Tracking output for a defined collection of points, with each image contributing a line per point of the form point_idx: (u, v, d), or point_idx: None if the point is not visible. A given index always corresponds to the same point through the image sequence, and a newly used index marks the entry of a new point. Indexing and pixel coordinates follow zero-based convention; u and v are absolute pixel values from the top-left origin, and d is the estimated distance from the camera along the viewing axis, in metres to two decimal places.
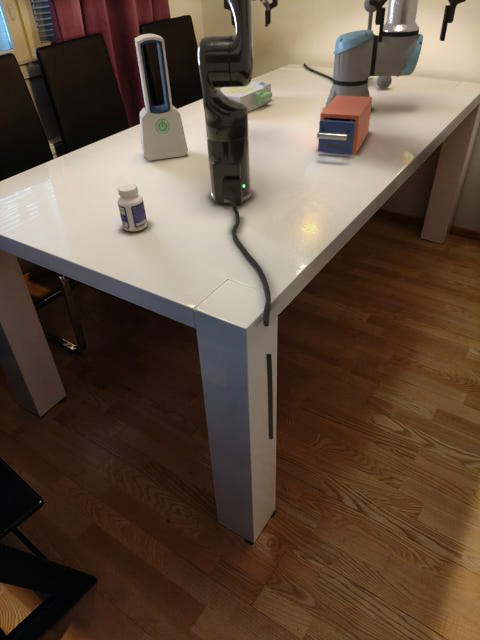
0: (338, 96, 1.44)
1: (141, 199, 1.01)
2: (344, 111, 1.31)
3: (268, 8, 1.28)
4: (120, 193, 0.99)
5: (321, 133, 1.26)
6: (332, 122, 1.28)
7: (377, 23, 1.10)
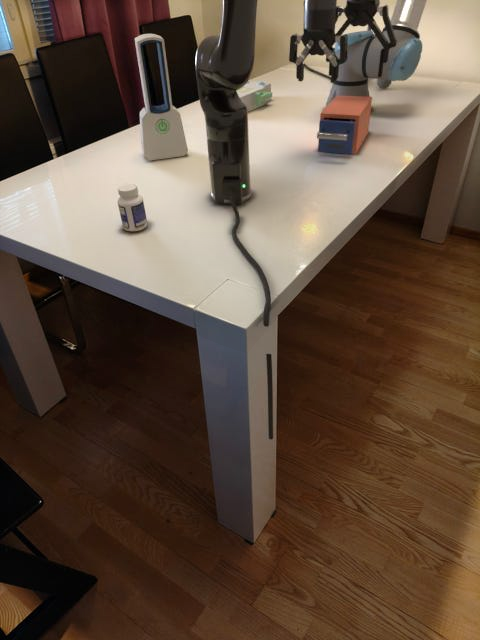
0: (338, 96, 1.44)
1: (141, 199, 1.01)
2: (344, 111, 1.31)
3: None
4: (120, 193, 0.99)
5: (321, 133, 1.26)
6: (332, 122, 1.28)
7: None
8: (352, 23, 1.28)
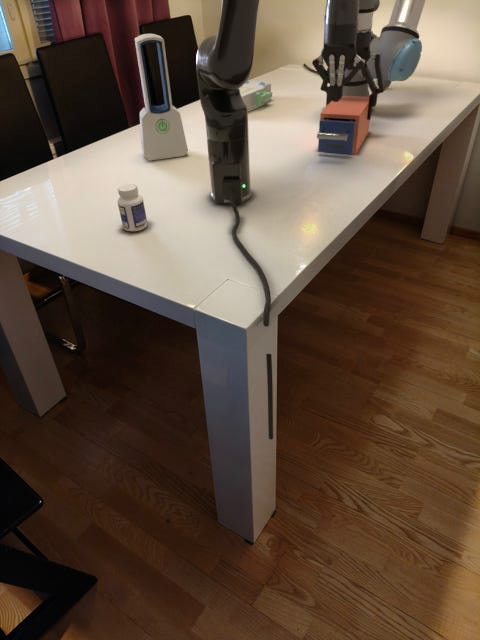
0: None
1: (141, 199, 1.01)
2: (344, 111, 1.31)
3: None
4: (120, 193, 0.99)
5: (321, 133, 1.26)
6: (332, 122, 1.28)
7: None
8: None
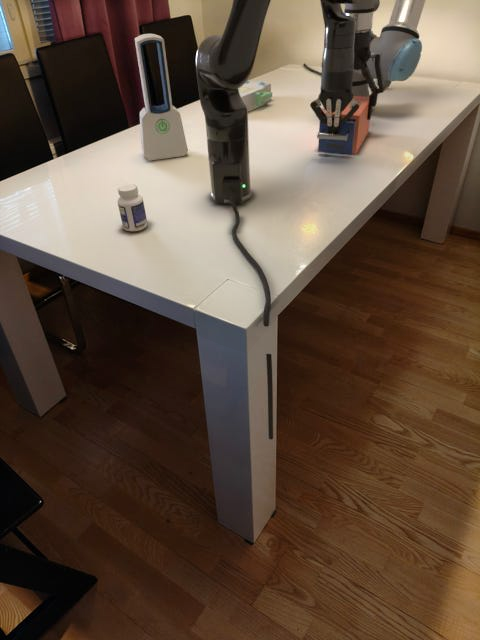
0: None
1: (141, 199, 1.01)
2: (344, 111, 1.31)
3: None
4: (120, 193, 0.99)
5: (321, 133, 1.26)
6: None
7: None
8: None
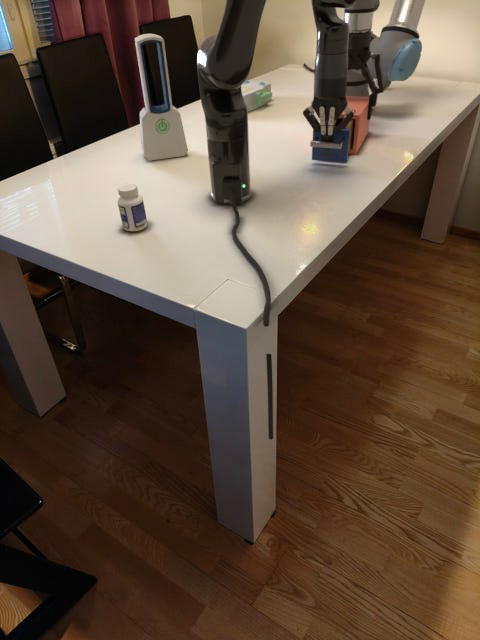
0: None
1: (141, 199, 1.01)
2: (344, 111, 1.31)
3: None
4: (120, 193, 0.99)
5: (315, 141, 1.21)
6: None
7: None
8: None
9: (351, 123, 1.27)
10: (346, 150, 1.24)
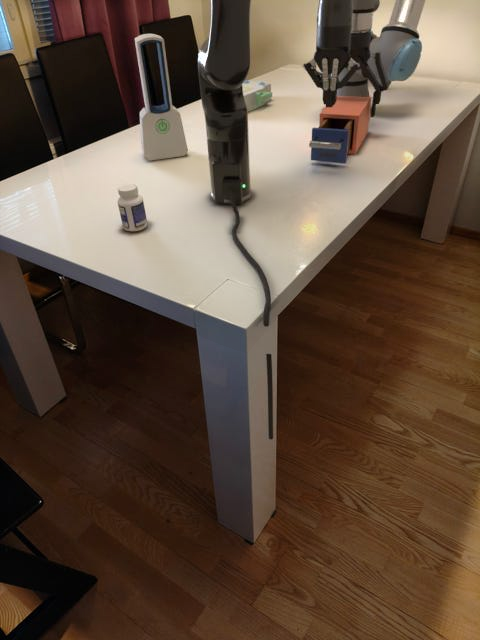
0: (338, 96, 1.44)
1: (141, 199, 1.01)
2: (343, 111, 1.31)
3: None
4: (120, 193, 0.99)
5: (313, 142, 1.21)
6: (325, 130, 1.23)
7: None
8: (346, 67, 1.35)
9: (350, 123, 1.27)
10: (345, 150, 1.24)
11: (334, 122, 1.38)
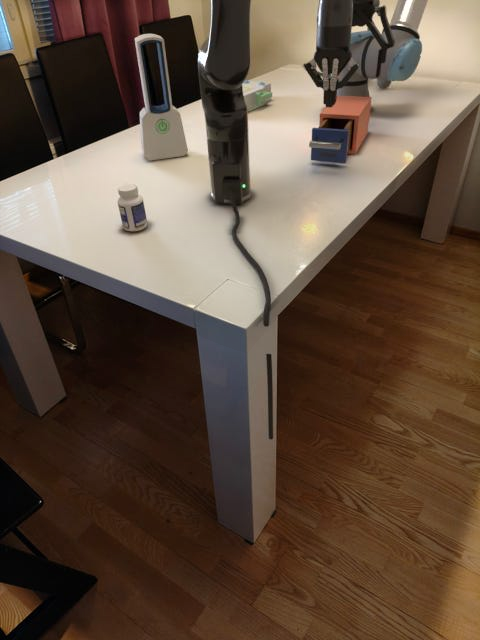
0: (337, 96, 1.43)
1: (141, 199, 1.01)
2: (343, 111, 1.31)
3: None
4: (120, 193, 0.99)
5: (313, 142, 1.21)
6: (325, 130, 1.23)
7: None
8: None
9: (350, 123, 1.27)
10: (345, 151, 1.24)
11: (334, 122, 1.38)
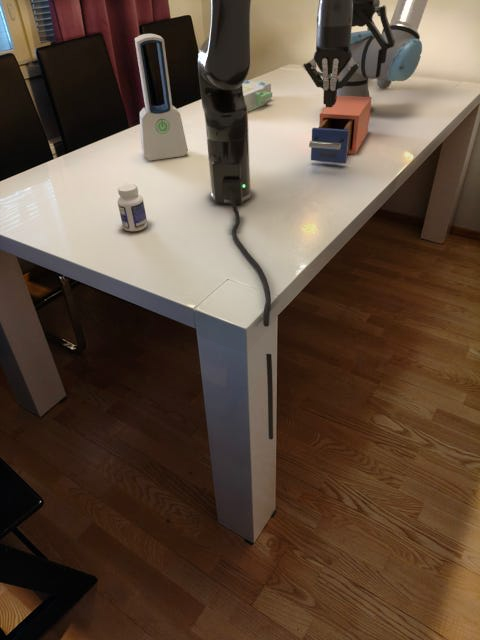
0: (337, 96, 1.43)
1: (141, 199, 1.01)
2: (343, 111, 1.31)
3: None
4: (120, 193, 0.99)
5: (313, 142, 1.21)
6: (325, 130, 1.23)
7: None
8: None
9: (350, 123, 1.27)
10: (345, 151, 1.24)
11: (334, 122, 1.38)
